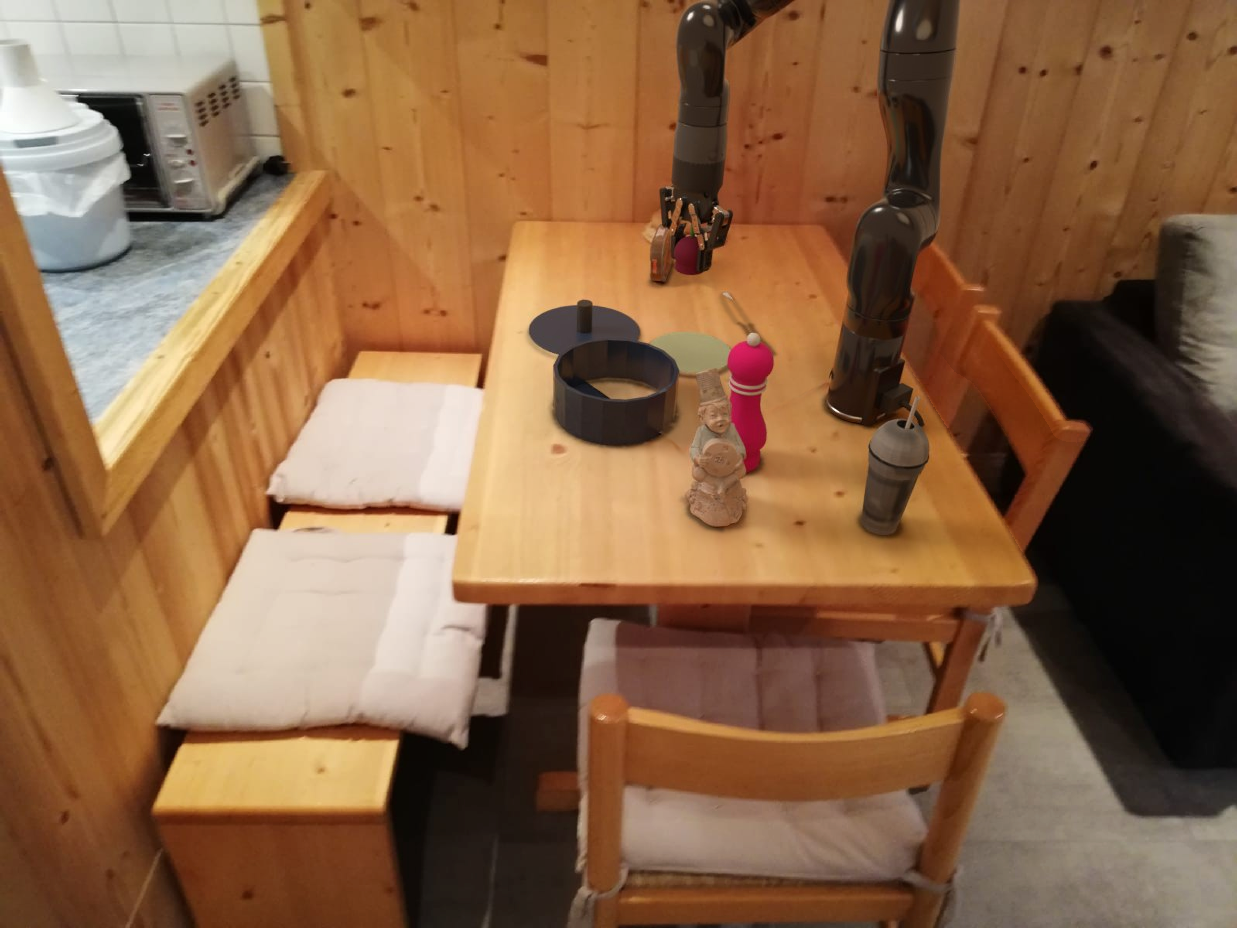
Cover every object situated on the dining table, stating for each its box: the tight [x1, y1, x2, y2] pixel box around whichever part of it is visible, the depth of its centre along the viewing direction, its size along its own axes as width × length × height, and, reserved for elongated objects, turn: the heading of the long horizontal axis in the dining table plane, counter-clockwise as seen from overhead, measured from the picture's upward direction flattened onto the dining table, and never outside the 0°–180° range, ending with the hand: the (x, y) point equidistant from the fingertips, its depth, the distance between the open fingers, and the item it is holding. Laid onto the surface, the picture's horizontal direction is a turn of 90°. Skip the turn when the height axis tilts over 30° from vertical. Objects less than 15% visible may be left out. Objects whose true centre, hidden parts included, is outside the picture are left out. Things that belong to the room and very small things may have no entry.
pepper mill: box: [726, 332, 775, 473], centre depth 122 cm, size 7×7×20 cm
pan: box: [552, 338, 680, 447], centre depth 135 cm, size 18×18×8 cm
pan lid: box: [528, 299, 641, 356], centre depth 154 cm, size 19×19×6 cm
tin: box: [649, 223, 674, 283], centre depth 176 cm, size 15×3×8 cm, turn 168°
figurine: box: [684, 367, 749, 527], centre depth 113 cm, size 9×8×20 cm
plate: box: [650, 331, 732, 374], centre depth 151 cm, size 14×14×1 cm
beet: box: [674, 223, 704, 276], centre depth 138 cm, size 5×5×7 cm
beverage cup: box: [861, 395, 930, 536], centre depth 112 cm, size 7×7×20 cm
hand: (689, 263), depth 140 cm, fingers closed on beet, 5 cm apart
